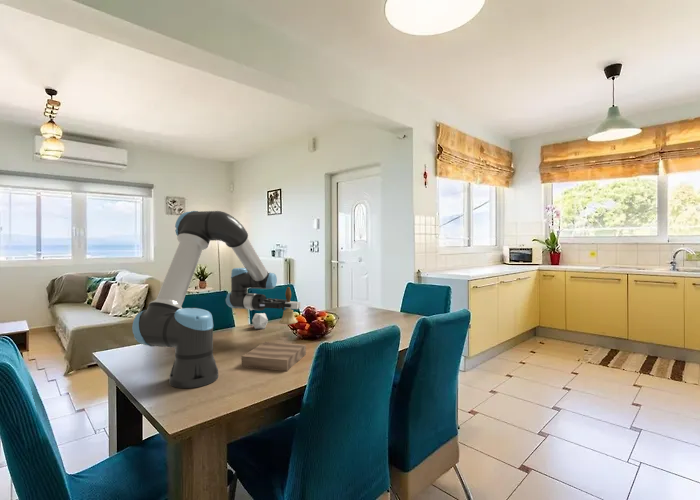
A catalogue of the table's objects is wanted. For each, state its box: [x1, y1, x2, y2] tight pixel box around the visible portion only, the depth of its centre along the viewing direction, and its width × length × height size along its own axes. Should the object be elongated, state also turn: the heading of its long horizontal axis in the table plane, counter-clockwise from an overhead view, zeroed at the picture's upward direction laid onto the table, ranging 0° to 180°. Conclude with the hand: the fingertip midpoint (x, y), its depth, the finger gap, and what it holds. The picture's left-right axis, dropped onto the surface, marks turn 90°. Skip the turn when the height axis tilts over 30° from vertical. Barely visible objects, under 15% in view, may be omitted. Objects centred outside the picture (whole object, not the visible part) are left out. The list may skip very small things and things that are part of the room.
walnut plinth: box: [241, 341, 307, 372], centre depth 144 cm, size 20×18×4 cm
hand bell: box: [279, 286, 299, 325], centre depth 167 cm, size 8×8×16 cm
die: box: [251, 312, 269, 330], centre depth 196 cm, size 8×9×10 cm
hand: (299, 305), depth 165 cm, fingers closed on hand bell, 2 cm apart
